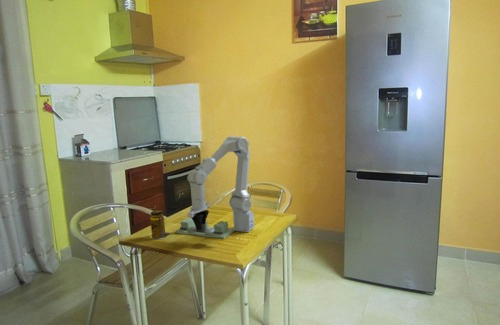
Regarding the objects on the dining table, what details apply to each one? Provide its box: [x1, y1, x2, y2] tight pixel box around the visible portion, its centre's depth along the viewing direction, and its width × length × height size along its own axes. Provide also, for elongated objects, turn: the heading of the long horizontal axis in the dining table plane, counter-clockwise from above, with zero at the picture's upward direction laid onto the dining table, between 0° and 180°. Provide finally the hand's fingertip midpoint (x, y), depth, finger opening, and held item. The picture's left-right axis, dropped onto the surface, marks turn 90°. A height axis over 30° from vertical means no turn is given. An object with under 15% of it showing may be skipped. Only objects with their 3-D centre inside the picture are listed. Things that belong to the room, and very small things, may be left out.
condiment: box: [149, 209, 172, 240], centre depth 154 cm, size 7×8×12 cm
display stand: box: [174, 217, 235, 240], centre depth 156 cm, size 26×10×5 cm, turn 67°
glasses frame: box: [179, 223, 223, 235], centre depth 144 cm, size 21×5×3 cm, turn 67°
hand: (200, 228), depth 144 cm, fingers closed on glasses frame, 2 cm apart
